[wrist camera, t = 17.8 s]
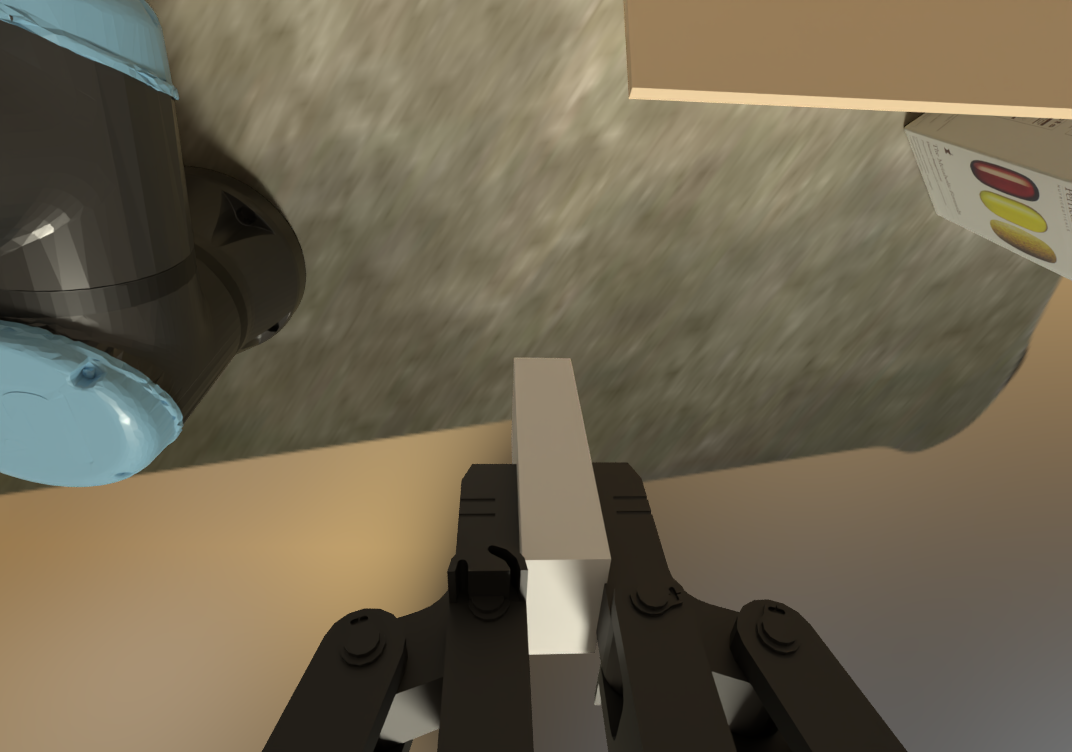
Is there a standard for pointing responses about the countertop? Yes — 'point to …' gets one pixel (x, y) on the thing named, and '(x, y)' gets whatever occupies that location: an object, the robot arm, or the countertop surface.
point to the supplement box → (1001, 180)
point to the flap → (856, 54)
